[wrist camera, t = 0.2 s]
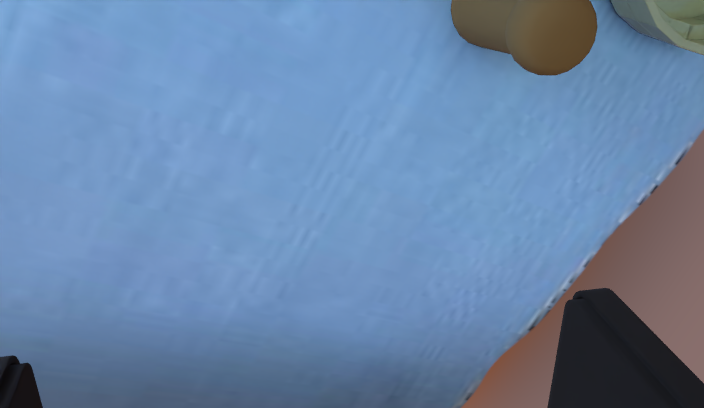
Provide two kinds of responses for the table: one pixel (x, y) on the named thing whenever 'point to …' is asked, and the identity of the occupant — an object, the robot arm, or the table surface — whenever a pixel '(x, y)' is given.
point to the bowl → (666, 20)
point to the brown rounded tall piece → (530, 30)
